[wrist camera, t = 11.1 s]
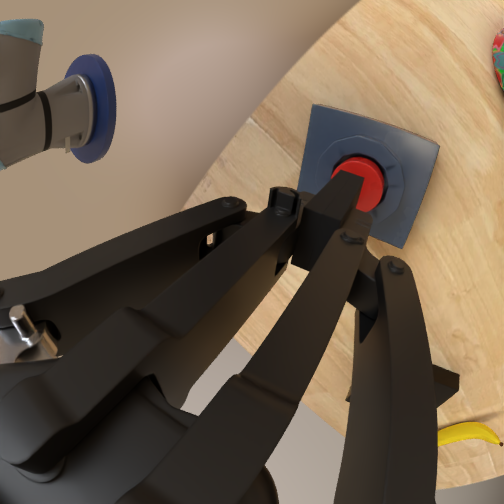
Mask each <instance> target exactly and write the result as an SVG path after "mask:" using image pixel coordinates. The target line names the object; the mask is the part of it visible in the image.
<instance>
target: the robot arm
mask: <svg viewBox="0 0 504 504" xmlns="http://www.w3.org/2000/svg"><path fill="white" fill-rule="evenodd" d="M43 30H44V24H43V22H42V21H41V20H38V19H16V20H7V21H1V22H0V170H3V169H6V168H7V167H9V166H11V165H13V164H15V163H17V162H20V161H22V160H24V159H26V158H29V157H31V156H33V155H35V154H38V153H40V152H43V151H45V150H48V149H50V148H66V153H68V152H70V148H79V147H82V146H85V145H87V144H89V143H90V141H91V140H92V138H93V136H94V133H95V129H96V124H97V99H96V93H95V89H94V86H93V84H92V82H91V80H90V78H89V77H88V76H87V75H85V74H76V75H71V76H69V77H67V78H66V79H64V80H62V81H60V82H58V83H57V84H55V85H53V86H52V87H50V88H48V89H46V90H44V91H40V92H36V82H37V72H38V71H37V70H38V64H39V57H40V51H41V46H42V36H43ZM363 182H364V177H361V176H358V175H356V174H353V173H350V172H347V171H344V170H340V171H339V172H338V173H337V174H336V175H335V176H334V177H333V178H332V179H331V180H330V181H329V182H328V183H327V184H326V185H325V186H324V187H323V188H322V189H321V190H320V191H319V192H318V193H317V194H316V195H315V194H312V193H309V192H306V191H302V192H298V191H297V190H294V189H292V188H288V187H273V188H270V193H269V200H268V207H267V208H266V209H264V210H263V211H262V212H260V213H257V212H251V211H246V208H247V204H246V202H245V201H243V200H242V199H239V198H237V197H232V196H230V197H222V198H218V199H215V200H212V201H210V202H207V203H204V204H201V205H198V206H195V207H193V208H190V209H187V210H184V211H182V212H179V213H176V214H174V215H171V216H169V217H166V218H163V219H160V220H158V221H155V222H153V223H151V224H148V225H145V226H142V227H140V228H138V229H135V230H133V231H130V232H128V233H125V234H123V235H120V236H118V237H116V238H113V239H111V240H109V241H106V242H104V243H102V244H99V245H97V246H95V247H93V248H90V249H88V250H86V251H84V252H81V253H79V254H77V255H75V256H72V257H70V258H68V259H66V260H64V261H62V262H60V263H57V264H56V265H53V266H51V267H49V268H47V269H45V270H43V271H40V272H36V273H32V274H28V275H23V276H19V277H15V278H11V279H7V280H3V281H0V504H279V500H278V494H277V489H276V486H275V483H274V480H273V478H272V476H271V474H270V472H269V471H268V469H267V468H266V466H265V463H266V462H267V460H268V459H269V457H270V455H271V454H272V452H273V451H274V449H275V447H276V446H277V444H278V442H279V441H280V439H281V437H282V436H283V434H284V432H285V431H286V429H287V427H288V425H289V424H290V422H291V420H292V418H293V416H294V414H295V412H296V410H297V408H298V404H299V402H300V400H301V398H302V396H303V395H304V393H305V391H306V389H307V387H308V385H309V383H310V381H311V379H312V377H313V375H314V373H315V371H316V369H317V367H318V365H319V362H320V360H321V358H322V356H323V354H324V352H325V350H326V347H327V345H328V343H329V341H330V338H331V336H332V334H333V332H334V329H335V327H336V324H337V322H338V320H339V317H340V315H341V312H342V310H343V307H344V305H345V302H346V301H347V302H349V303H350V304H351V305H353V306H354V307H355V308H357V309H356V312H355V333H354V357H353V373H352V386H351V397H350V407H349V415H348V424H347V431H346V438H345V444H344V451H343V457H342V463H341V468H340V473H339V478H338V483H337V487H336V492H335V498H334V504H436V502H435V490H436V478H437V459H438V427H437V407H436V394H435V384H434V375H433V368H432V361H431V354H430V348H429V342H428V337H427V331H426V326H425V322H424V317H423V312H422V308H421V304H420V300H419V296H418V292H417V288H416V284H415V280H414V277H413V273H412V271H411V269H410V267H409V266H408V265H407V264H406V263H405V262H404V261H403V260H402V259H400V258H397V257H394V256H383V257H382V258H381V259H380V260H378V259H377V258H376V257H374V256H373V255H372V254H371V253H370V252H369V251H368V249H367V247H366V242H367V239H368V235H369V232H370V229H371V226H372V222H373V218H372V216H371V214H369V213H366V212H364V211H361V210H358V209H356V206H357V203H358V199H359V196H360V192H361V189H362V186H363ZM212 233H213V243H211V244H208V245H207V236H208V235H210V234H212ZM292 255H293V256H292ZM291 256H292V260H291V264H292V265H295V266H297V267H300V268H302V269H304V270H307V271H309V274H308V275H307V277H306V278H305V280H304V282H303V283H302V285H301V286H300V288H299V289H298V291H297V292H296V294H295V295H294V297H293V299H292V300H291V302H290V303H289V305H288V306H287V308H286V309H285V311H284V312H283V314H282V315H281V317H280V318H279V320H278V321H277V322H276V324H275V325H274V327H273V328H272V330H271V331H270V333H269V334H268V336H267V337H266V338H265V340H264V341H263V343H262V344H261V346H260V347H259V348H258V350H257V351H256V353H255V354H254V355H253V357H252V358H251V360H250V361H249V362H248V364H247V365H246V367H245V368H244V369H243V370H242V372H240V373H239V374H236V375H233V376H232V377H231V378H229V379H228V380H227V382H226V383H225V384H224V385H223V386H222V387H221V389H220V390H219V391H218V393H217V394H216V395H215V396H214V398H213V399H212V400H211V402H210V403H209V404H208V405H207V407H206V408H205V409H204V410H203V411H202V413H201V414H200V415H199V416H196V415H194V414H191V413H188V412H185V411H183V410H180V408H181V407H182V406H183V404H184V402H185V401H186V398H187V396H188V393H189V391H190V389H191V387H192V386H193V385H194V384H195V382H196V381H197V380H198V379H199V377H200V376H201V375H202V374H203V373H204V371H205V370H206V369H207V368H208V367H209V366H210V365H211V363H212V362H213V361H214V360H215V358H216V357H217V356H218V355H219V354H220V352H221V351H222V350H223V349H224V347H225V346H226V345H227V344H228V343H229V341H230V340H231V339H232V338H233V336H234V335H235V334H236V333H237V332H238V330H239V329H240V328H241V327H242V325H243V324H244V323H245V322H246V320H247V319H248V318H249V317H250V315H251V314H252V313H253V311H254V310H255V309H256V308H257V306H258V305H259V304H260V303H261V301H262V300H263V299H264V297H265V296H266V295H267V294H268V292H269V291H270V290H271V288H272V287H273V286H274V285H275V283H276V282H277V281H278V279H279V278H280V277H281V275H282V274H283V273H284V271H285V270H286V268H287V264H288V260H289V258H290V257H291ZM61 355H63V356H62V357H60V358H58V356H61Z"/></svg>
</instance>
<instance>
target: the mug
mask: <svg viewBox="0 0 504 504" xmlns="http://www.w3.org/2000/svg"><path fill="white" fill-rule="evenodd" d="M493 63H494V68H495V72H496V75H497V78H498V80H499V83H500V85H501V87H502V89H503V91H504V28H503V29H501V30H500V31H499V32H498V33H497V35H496V37H495V39H494V43H493Z"/></svg>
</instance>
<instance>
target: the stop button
mask: <svg viewBox="0 0 504 504" xmlns="http://www.w3.org/2000/svg"><path fill="white" fill-rule="evenodd" d="M340 170H344V171H347V172H350V173H353V174H356V175H358V176H361V177H364V182H363V186H362V189H361V192H360V196H359V199H358V203H357V206H356V209H358V210H361V211H364V212H368V211H370V210H372V209H373V208H374V207H375V206H376V205H377V204H378V203H379V201H380V199H381V196H382V193H383V189H384V178H383V174H382V172H381V170H380V169H379V167H378V166H377V165H376V164H375V163H374V162H372V161H371V160H369V159H367V158H363V157H353V158H349V159H347V160H346V161H344V162H343V163H342V164H341V165H340V166H338V167H337V168H336V169H335V171H334V172H333V174H332V177H331V179H332V178H333V177H334V176H335V175H336V174H337V173H338V172H339V171H340Z"/></svg>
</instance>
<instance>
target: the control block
mask: <svg viewBox="0 0 504 504" xmlns="http://www.w3.org/2000/svg"><path fill="white" fill-rule="evenodd" d="M439 148H440V146H439V145H438V144H437V143H436V142H434V141H432V140H430V139H427V138H425V137H422V136H420V135H418V134H415V133H413V132H410V131H407V130H405V129H402V128H399V127H397V126H394V125H391V124H388V123H385V122H382V121H379V120H376V119H373V118H370V117H367V116H363V115H360V114H356V113H353V112H349V111H346V110H342V109H338V108H334V107H330V106H326V105H322V104H312V110H311V116H310V122H309V128H308V133H307V139H306V144H305V150H304V155H303V161H302V166H301V172H300V177H299V182H298V187H297V191H298V192H302V191H306V192H309V193H312V194H315V195H316V194H317V193H318V192H319V191H320V190H321V189H322V188H323V187H324V186H325V185H326V184H327V183H328V182H329V181H330V180H331V177H332V174H333V172H334V171H335V169H336V168H337V167H338V166H340V165H341V164H342V163H343V162H344V161H346V160H347V159H349V158H353V157H363V158H367V159H369V160H371V161H372V162H374V163H375V164H376V165H377V166H378V167H379V169H380V170H381V172H382V174H383V178H384V189H383V193H382V196H381V199H380V201H379V203H378V204H377V205H376V206H375V207H374V208H373V209H372V210H370V211H368V212H366V213H369V214H371V216H372V218H373V222H372V226H371V229H370V232H369V235H370V236H372V237H374V238H377V239H379V240H382V241H384V242H386V243H389V244H391V245H393V246H396V247H398V248H400V249H402V248H403V246H404V244H405V242H406V239H407V237H408V235H409V232H410V230H411V228H412V225H413V223H414V220H415V218H416V215H417V213H418V210H419V208H420V205H421V202H422V200H423V197H424V194H425V192H426V189H427V186H428V183H429V180H430V177H431V174H432V171H433V168H434V165H435V161H436V158H437V155H438V151H439Z"/></svg>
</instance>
